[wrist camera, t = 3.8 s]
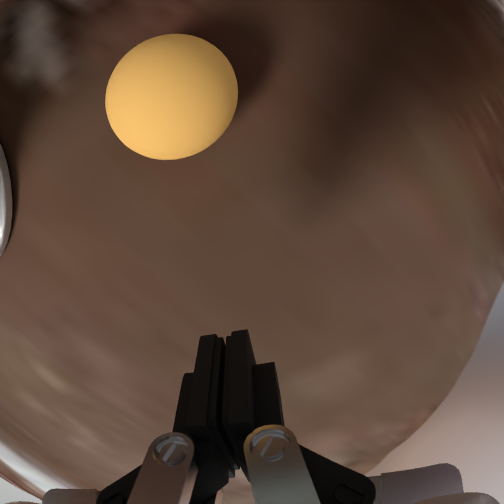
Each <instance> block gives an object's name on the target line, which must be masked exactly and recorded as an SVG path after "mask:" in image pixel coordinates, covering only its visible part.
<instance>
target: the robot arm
mask: <svg viewBox="0 0 504 504" xmlns="http://www.w3.org/2000/svg"><path fill="white" fill-rule="evenodd" d="M11 221H12V191H11V180H10V176H9V171H8V165H7V162H6V158H5V155H4V152H3V149H2V147H1V144H0V257H1V255H2V254H3V252H4V249H5V247H6V245H7V242H8V238H9V234H10V230H11ZM240 467H241V469H242V471H243V472H244V474H245V476H246V478H247V480H248V481H249V482H250V483H251V486H252V491H253V495H254V499H255V503H256V504H499V502H498V501H497V500H496V499H495V498H493V497H492V496H490V495H488V494H485V493H478V492H466V493H464V492H463V484H462V478H461V475H460V472H459V470H458V469H457V468H456V467H455V466H454V465H451V464H448V463H444V464H436V465H431V466H426V467H421V468H415V469H410V470H404V471H396V472H390V473H381V476H372V477H366V476H364V475H362V474H360V473H358V472H355V471H353V470H351V469H349V468H346V467H344V466H342V465H340V464H338V463H335V462H333V461H331V460H329V459H327V458H325V457H323V456H321V455H319V454H317V453H315V452H313V451H311V450H309V449H307V448H305V447H303V446H301V445H299V444H298V442H297V440H296V437H295V435H294V434H293V432H292V431H290V430H289V429H288V428H286V427H285V426H284V419H283V411H282V404H281V397H280V390H279V384H278V378H277V373H276V368H275V363H274V362H270V363H264V364H258V365H256V362H255V357H254V353H253V349H252V345H251V341H250V337H249V333H248V330H247V329H246V330H239V331H233V332H232V334H231V336H227V337H226V346H225V342H224V339H223V337H220V338H218V337H217V335H216V334H212V335H205V336H201V337H200V340H199V346H198V352H197V357H196V363H195V369H194V373H185V374H184V376H183V380H182V385H181V390H180V395H179V400H178V405H177V411H176V416H175V421H174V427H173V432H169V433H166V434H163V435H161V436H159V437H157V438H156V439H155V440H154V441H153V442H152V443H151V445H150V447H149V449H148V451H147V454H146V456H145V459H144V461H143V464H142V465H140V466H139V467H137V468H136V469H134V470H133V471H131V472H130V473H128V474H127V475H125V476H124V477H122V478H120V479H119V480H117V481H116V482H114V483H112V484H111V485H109V486H108V487H106V488H105V489H103V490H102V491H98V490H97V489H51V490H49V491H48V492H46V494H45V495H44V497H43V500H42V504H221V499H222V494H223V487H224V486H225V485H226V484H227V483H228V482H229V478H233V477H235V470H237V469H240ZM6 504H38V503H33V502H21V501H19V502H10V503H6Z"/></svg>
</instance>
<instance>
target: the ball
mask: <svg viewBox="0 0 504 504" xmlns="http://www.w3.org/2000/svg"><path fill="white" fill-rule="evenodd" d="M237 100H238V86H237V80H236V76H235V73H234V70H233V68H232V66H231V64H230V62H229V61H228V59H227V58H226V57H225V55H224V54H223V53H222V52H221V51H220V50H219V49H218V48H216V47H215V46H214V45H212V44H211V43H209V42H207V41H205V40H203V39H201V38H199V37H195V36H192V35H186V34H166V35H161V36H157V37H154V38H151V39H148V40H146V41H144V42H142V43H140V44H139V45H137V46H136V47H134V48H133V49H132V50H130V51H129V52H128V53H127V54H126V55H125V56H124V57H123V58H122V59H121V60H120V62H119V63H118V64H117V66H116V67H115V69H114V71H113V73H112V75H111V77H110V79H109V82H108V86H107V90H106V101H105V105H106V113H107V116H108V120H109V122H110V125H111V127H112V129H113V130H114V132H115V134H116V135H117V136H118V138H119V139H120V140H121V141H122V142H123V143H124V144H125V145H126V146H127V147H129V148H130V149H132V150H133V151H135V152H137V153H139V154H141V155H143V156H146V157H149V158H154V159H160V160H174V159H180V158H185V157H188V156H192V155H194V154H196V153H199V152H201V151H202V150H204V149H206V148H207V147H209V146H210V145H211V144H213V143H214V142H215V141H216V140H217V139H218V138H219V137H220V136H221V135H222V134H223V132H224V131H225V130H226V129H227V127H228V125H229V124H230V122H231V120H232V118H233V115H234V113H235V109H236V106H237Z"/></svg>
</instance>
